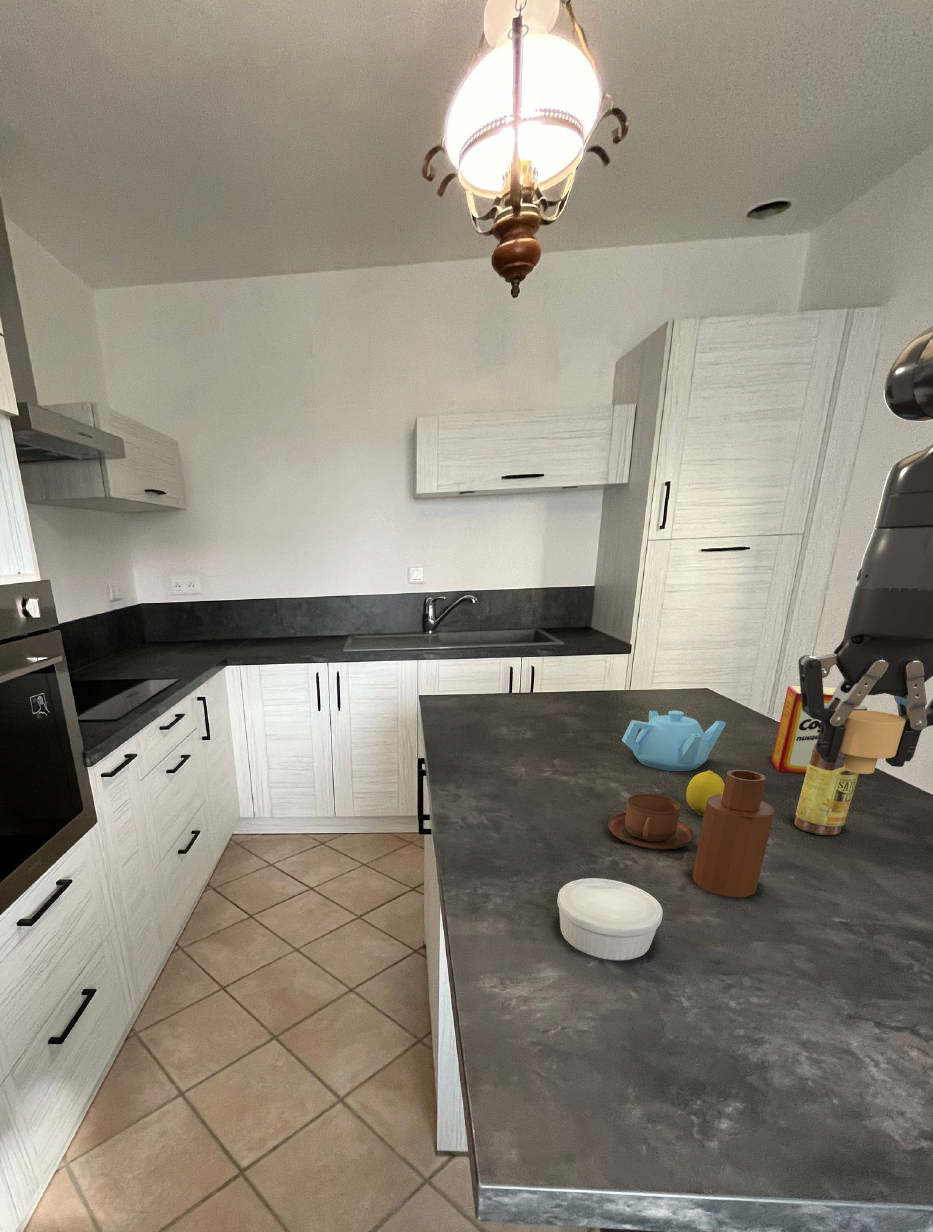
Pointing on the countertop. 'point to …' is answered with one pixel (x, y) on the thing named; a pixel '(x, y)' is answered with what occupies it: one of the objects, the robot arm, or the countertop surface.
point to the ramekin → (608, 918)
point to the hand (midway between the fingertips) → (860, 761)
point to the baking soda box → (796, 733)
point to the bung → (870, 739)
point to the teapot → (671, 741)
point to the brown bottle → (734, 836)
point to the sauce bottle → (825, 794)
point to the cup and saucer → (651, 823)
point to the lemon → (703, 790)
